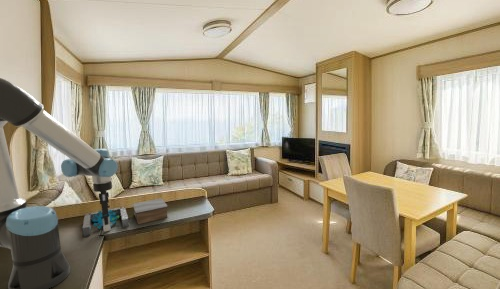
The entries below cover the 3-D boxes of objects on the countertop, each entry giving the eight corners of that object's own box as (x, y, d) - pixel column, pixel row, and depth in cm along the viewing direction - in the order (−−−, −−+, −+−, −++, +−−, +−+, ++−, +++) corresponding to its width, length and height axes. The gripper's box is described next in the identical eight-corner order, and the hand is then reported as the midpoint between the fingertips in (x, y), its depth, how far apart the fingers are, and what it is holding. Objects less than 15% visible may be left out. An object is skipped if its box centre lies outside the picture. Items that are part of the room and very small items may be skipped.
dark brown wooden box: (168, 217, 125) (167, 206, 124) (136, 224, 117) (135, 213, 117) (162, 208, 138) (161, 198, 137) (133, 214, 130) (132, 203, 129)
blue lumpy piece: (91, 229, 110) (93, 209, 116) (91, 234, 114) (93, 214, 119) (119, 226, 116) (119, 207, 121) (118, 231, 119) (118, 212, 125)
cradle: (128, 226, 116) (128, 218, 116) (83, 236, 107) (82, 228, 106) (125, 213, 131) (124, 206, 131) (85, 221, 122) (84, 214, 121)
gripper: (112, 186, 106) (117, 233, 109) (110, 175, 126) (114, 215, 128) (92, 189, 102) (97, 238, 105) (93, 177, 122) (98, 219, 124)
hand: (106, 225), depth 116 cm, fingers open, 11 cm apart
